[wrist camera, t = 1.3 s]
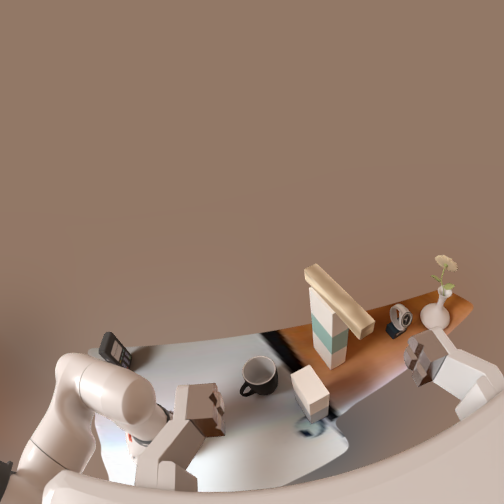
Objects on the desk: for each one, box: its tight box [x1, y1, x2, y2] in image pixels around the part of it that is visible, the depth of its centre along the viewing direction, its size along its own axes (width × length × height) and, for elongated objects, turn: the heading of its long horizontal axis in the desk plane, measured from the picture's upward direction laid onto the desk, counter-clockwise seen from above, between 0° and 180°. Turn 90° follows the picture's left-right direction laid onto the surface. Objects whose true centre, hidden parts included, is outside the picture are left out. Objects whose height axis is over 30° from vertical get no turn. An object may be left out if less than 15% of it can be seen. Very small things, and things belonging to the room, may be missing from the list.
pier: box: [291, 365, 330, 424], centre depth 58 cm, size 5×9×16 cm, turn 22°
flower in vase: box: [420, 255, 458, 330], centre depth 66 cm, size 13×11×25 cm
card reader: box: [99, 332, 132, 369], centre depth 80 cm, size 9×4×15 cm, turn 4°
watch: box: [386, 304, 412, 339], centre depth 71 cm, size 6×8×11 cm
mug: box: [240, 356, 278, 397], centre depth 68 cm, size 12×9×10 cm
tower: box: [309, 287, 349, 370], centre depth 67 cm, size 5×10×26 cm, turn 22°
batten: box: [304, 264, 375, 340], centre depth 57 cm, size 4×22×4 cm, turn 22°
